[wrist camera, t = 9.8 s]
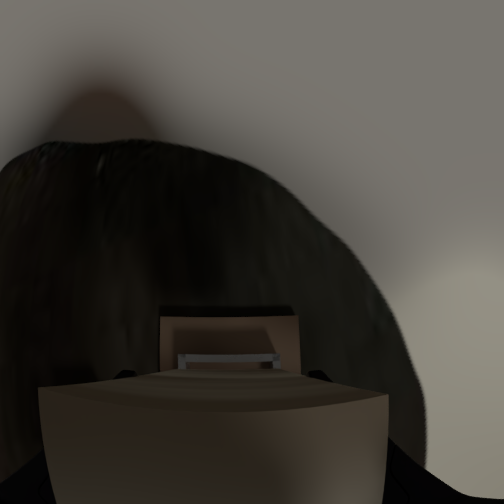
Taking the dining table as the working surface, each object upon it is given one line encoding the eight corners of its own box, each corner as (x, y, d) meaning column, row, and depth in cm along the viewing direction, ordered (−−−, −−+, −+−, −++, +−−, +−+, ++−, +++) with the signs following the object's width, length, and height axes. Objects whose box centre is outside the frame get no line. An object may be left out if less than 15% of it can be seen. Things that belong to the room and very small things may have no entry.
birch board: (279, 424, 13) (373, 549, 2) (178, 425, 12) (68, 539, 2) (277, 368, 14) (388, 394, 3) (176, 368, 13) (37, 387, 3)
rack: (299, 490, 16) (307, 503, 14) (71, 470, 15) (56, 478, 13) (295, 316, 21) (303, 311, 19) (63, 311, 20) (46, 305, 18)
